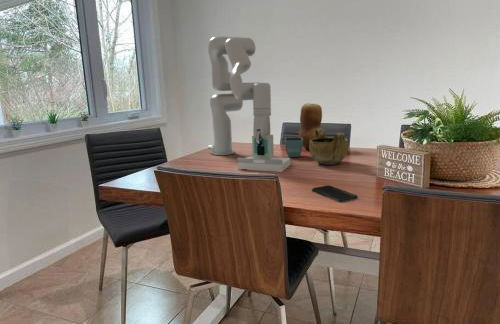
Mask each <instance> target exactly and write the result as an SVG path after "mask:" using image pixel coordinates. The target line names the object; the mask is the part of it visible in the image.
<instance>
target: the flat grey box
mask: <svg viewBox="0 0 500 324" xmlns="http://www.w3.org/2000/svg"><path fill="white" fill-rule="evenodd" d="M289 166H291V157H273V158H272V159H254V158H253V155H252V156H250V155H249V156H247V157H237V170H242V169H247V171H259V172H260V171H261V172H262V171H263V172H275V173H276V172H277V173H278V172H279V173H282V172H283V171H285V170H286V169H287V168H289Z"/></svg>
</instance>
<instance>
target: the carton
mask: <svg viewBox="0 0 500 324" xmlns="http://www.w3.org/2000/svg"><path fill="white" fill-rule="evenodd" d="M260 139H262V138H260ZM260 141H261V140H260ZM251 142H252V143H251V144H252V147H251V148H252V156H253V158H254V159H272V158H273V157H274V156H275V155H274V150H275V149H274V134H270V135H268V136H266V137H265V139H264V150H265V155H257V143H256V139H254V138H253V135H251ZM261 142H262V141H261Z"/></svg>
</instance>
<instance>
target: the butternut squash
mask: <svg viewBox="0 0 500 324" xmlns="http://www.w3.org/2000/svg"><path fill="white" fill-rule="evenodd" d="M322 109H323V108H322V107H321V105H319V104H318V103H308V102H307V103H305V104H303V105H302V106H301V108H300V116H299V122H300V123H299V124H300V128H299V133H298V136H297V138H302V139H303V145H302V147H304V149H306V150H308V151H310V149H309V143H310V140H311V139H314V138H316V134H315V130H316V129H322V127H321V125H322V124H321V123H322V120H323V119H322V118H323V111H322Z"/></svg>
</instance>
